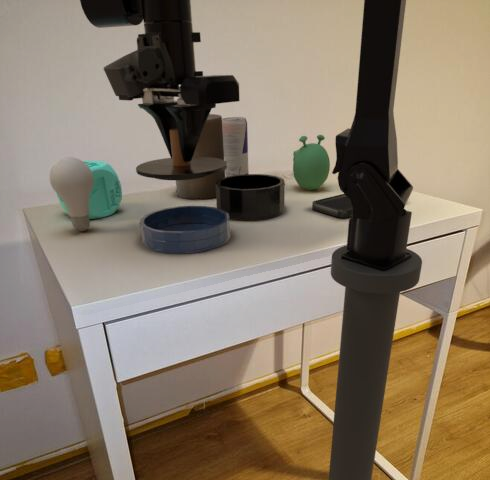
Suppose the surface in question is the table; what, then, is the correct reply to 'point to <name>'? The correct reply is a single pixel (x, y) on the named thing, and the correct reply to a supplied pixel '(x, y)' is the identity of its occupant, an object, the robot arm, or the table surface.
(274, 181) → the tin
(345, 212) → the phone
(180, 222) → the pan
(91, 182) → the lightbulb
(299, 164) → the alien toy
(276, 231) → the table surface
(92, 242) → the table surface
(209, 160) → the lid
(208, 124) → the pillar candle
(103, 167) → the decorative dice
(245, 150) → the energy drink
